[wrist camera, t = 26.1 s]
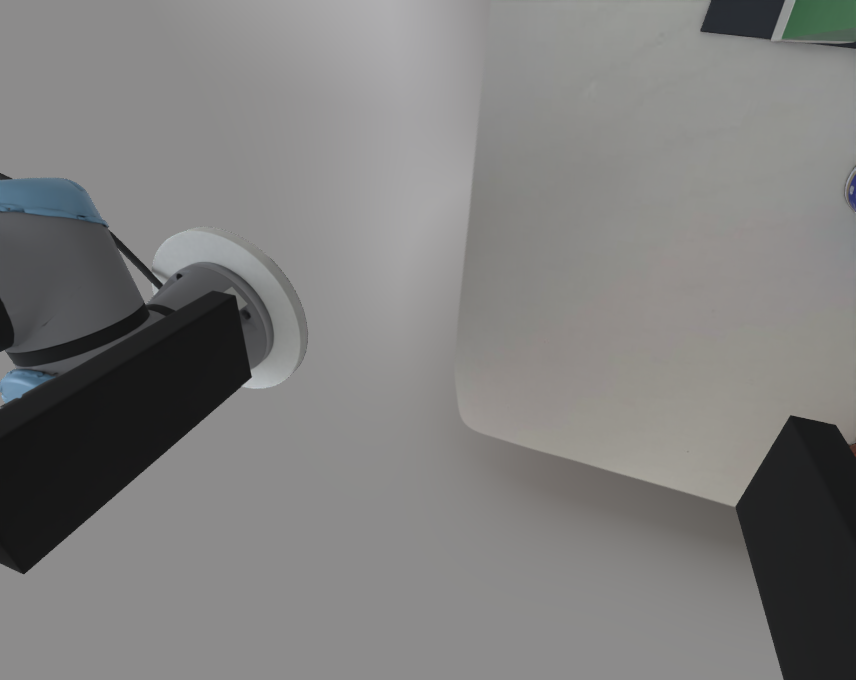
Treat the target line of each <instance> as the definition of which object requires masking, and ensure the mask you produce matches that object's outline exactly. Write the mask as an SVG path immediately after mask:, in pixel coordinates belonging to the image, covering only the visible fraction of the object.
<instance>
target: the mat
mask: <svg viewBox="0 0 856 680" xmlns="http://www.w3.org/2000/svg"><path fill="white" fill-rule="evenodd" d="M784 2H785V0H711V3H710V6H709V8H708V11H707V14H706V17H705V20H704V22H703V25H702V28H701V32H710V33H719V34H728V35H738V36H747V37H756V38H765V39H771V38H772V35H773V32H774V30H775V27H776V24H777V21H778V19H779V16H780V13H781V10H782V8H783V5H784ZM811 44H820V45H829V46H838V47H847V48H856V42H852V43H841V44H830V43H811Z"/></svg>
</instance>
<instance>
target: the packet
mask: <svg viewBox="0 0 856 680" xmlns="http://www.w3.org/2000/svg"><path fill="white" fill-rule="evenodd" d="M771 42H799V43H830V44H841V43H852V42H856V0H785V2H784V5H783V8H782V10H781V13H780V16H779V19H778V21H777V24H776V27H775V30H774V32H773V35H772V38H771Z"/></svg>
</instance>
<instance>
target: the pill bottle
mask: <svg viewBox="0 0 856 680" xmlns="http://www.w3.org/2000/svg"><path fill="white" fill-rule="evenodd" d="M845 197H846V201H847V203H848V205H849V206H850V207H851V208H852V209H853V210H854V211H855V212H856V167H855V168H854V170H853V171H852V173H851V174H850V176H849V178H848V180H847V183H846V187H845Z"/></svg>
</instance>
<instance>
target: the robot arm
mask: <svg viewBox="0 0 856 680" xmlns="http://www.w3.org/2000/svg"><path fill="white" fill-rule="evenodd" d="M108 227H109V226H108V224H107V222H106V221H105V220H103V219H102V218H101V216H100V214H99V213H98V211H97V209H96V207H95V205H94V204H93V202H92V200H91V198H90V196H89V195H88V193H87V192H86V190H85V189H84V188H83V187H81V186H80V185H79V184H77V183H75V182H73V181H71V180H68V179H63V178H27V179H12V178H10V177H7V176H5V175H3V174H1V173H0V352H1V351H3V350H5V351H6V352H7V354H8V355H9V357H10V358H11V360H12V361H13V363H14V364H15V366H16V368H17V369H14V370H12V371H10V372H8V373H7V374H6V376H5V377H4V378H3V379H2V380H1V382H0V392H2V398H3V400H4V402H5V404H4V405H2V406H1V408H0V563H1V564H3V565H5V566H7V567H9V568H11V569H13V570H16V571H18V572H20V573H22V574H25V573H26V572H27V571H28V570H30V569H31V568H32V567H33V566H34V565H35V564H36V563H38V562H39V561H40V560H41V559H42V558H43V557H45V556H46V555H47V554H48V553H49V552H50V551H51V550H53V549H54V548H55V547H56V546H57V545H58V544H59V543H61V542H62V541H63V540H64V539H65V538H67V537H68V536H69V535H70V534H71V533H72V532H73V531H75V530H76V529H77V528H78V527H79V526H80V525H82V523H84V522H85V521H86V520H87V519H88V518H90V517H91V516H92V515H93V514H94V513H96V511H98V510H99V509H100V508H101V507H102V506H104V505H105V504H106V503H107V502H108V501H109V500H111V499H112V498H113V497H114V496H115V495H116V494H117V493H119V492H120V491H121V490H122V489H123V488H124V487H126V486H127V485H128V484H129V483H130V482H131V481H132V480H134V479H135V478H136V477H137V476H138V475H139V474H140V473H142V472H143V471H144V470H145V469H146V468H147V467H149V466H150V465H151V464H152V463H153V462H154V461H156V460H157V459H158V458H159V457H160V456H161V455H163V454H164V453H165V452H166V451H167V450H168V449H170V448H171V447H172V446H173V445H174V444H175V443H176V442H178V441H179V440H180V439H181V438H182V437H183V436H185V435H186V434H187V433H188V432H189V431H190V430H192V428H194V427H195V426H196V425H197V424H199V423H200V422H201V421H202V420H203V419H204V418H205V417H207V416H208V415H209V414H210V413H211V412H212V411H213V410H214V409H216V408H217V407H218V406H219V405H220V404H222V403H223V402H224V401H225V400H226V399H227V398H229V397H230V396H231V395H232V394H233V393H234V392H236V391H237V390H238V389H239V388H240V387H241V386H242V385H244V384H245V383H246V382H247V381H248V380H249V379H251V378H252V375H251V369H253V368H255V367H256V366H258V365H259V364H260V363H261V362H262V361H264V360H265V359H266V358H267V357H268V355H269V354H270V352H271V350H272V347H273V342H274V330H273V324H272V321H271V318H270V315H269V312H268V310H267V308H266V306H265V304H264V303H263V301H262V299H261V298H260V297H259V295H258V294H257V293H256V291H255V290H254V289H253V288H252V287H251V286H250V285H249V284H248V283H247V282H246V281H245V280H244V279H243V278H242V277H240V276H239V275H238V274H236V273H235V272H233V271H231V270H230V269H228V268H226V267H224V266H221V265H219V264H215V263H210V262H197V263H193V264H190V265H188V266H186V267H184V268H182V269H180V270H178V271H177V272H176V273H175V274H173V275H172V276H171V277H170V278H169V279H168V281H167V282H166V283H165V284H164V285H163V284H162V283H161V282H160V281H159V280H158V279H157V278H156V277H155V276H154V274H153V273H152V272H151V271H150V270H149V269H148V268H147V267H146V266H145V265H144V264H143V263H142V262H141V261H140V260H139V259H138V258H137V257H136V256H135V255H134V254H133V253H132V252H131V251H130V250H129V249H128V248H127V247H126V246H125V245H124V244H123V243H122V242H121V241H120V240H119V239H118V238H117V237H116V236H115V235H114V234H113V233H112V232H110V231H109V230H108ZM118 249H119V250H120V251H121V252H122V253H123V254H124V255H125V256H126V257H127V258H128V259H129V260H130V261H131V262H132V263H133V264H134V265H135V266H136V267H137V268H138V269H139V270H140V271H141V272H142V273H143V274H144V275H145V276H146V277H147V278H148V279H149V280H150V281H151V283H152V284H153V285H154V286H155V287H156V288H157V289H158V290H159V291H158V292H157V293H156V294H155V295H154V296H153V297H152V299H151V300H150V301H149V302H148V303H147V304H146V305H145V303H144V300H143V299H142V297H141V295H140V292H139V290H138V288H137V286H136V284H135V282H134V281H133V278H132V276H131V274H130V272H129V270H128V268H127V266H126V264H125V262H124V260H123V258H122V256H121V254H120V252H119V250H118ZM736 510H737V514H738V518H739V521H740V525H741V529H742V532H743V536H744V539H745V543H746V546H747V550H748V554H749V557H750V561H751V564H752V568H753V571H754V575H755V578H756V582H757V586H758V589H759V593H760V596H761V600H762V604H763V607H764V611H765V615H766V618H767V622H768V625H769V629H770V632H771V636H772V640H773V643H774V646H775V650H776V654H777V657H778V661H779V664H780V668H781V671H782V675H783V679H784V680H856V457H855V455H854V453H853V452H852V450H851V449H850V447H849V445H848V444H847V442H846V441H845V439H844V437H843V436H842V434H841V433H840V431H839V429H838V428H837V426H836V425H833V424H828V423H824V422H819V421H815V420H810V419H805V418H801V417H796V416H791V415H790V417H789V419H788V420H787V422H786V424H785V425H784V427H783V429H782V430H781V432H780V434H779V435H778V437H777V439H776V440H775V442H774V444H773V445H772V447H771V449H770V450H769V452H768V454H767V455H766V457H765V459H764V460H763V462H762V464H761V465H760V467H759V469H758V470H757V472H756V474H755V475H754V477H753V479H752V480H751V482H750V484H749V485H748V487H747V489H746V490H745V492H744V494H743V495H742V497H741V499H740V500H739V502H738V504H737V505H736Z"/></svg>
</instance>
